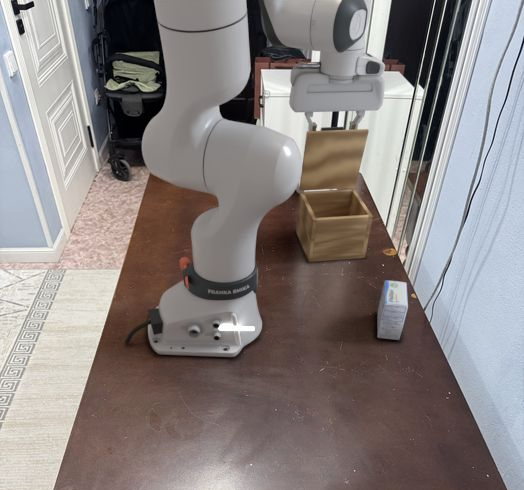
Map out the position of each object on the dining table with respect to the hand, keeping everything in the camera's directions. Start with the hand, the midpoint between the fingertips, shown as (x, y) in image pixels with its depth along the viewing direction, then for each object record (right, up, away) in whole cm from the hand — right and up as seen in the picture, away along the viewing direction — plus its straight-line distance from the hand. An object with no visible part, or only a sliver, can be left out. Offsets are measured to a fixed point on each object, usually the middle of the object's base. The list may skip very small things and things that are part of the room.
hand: (332, 131), depth 111 cm
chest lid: (0, -6, +2) cm, 6 cm away
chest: (+1, -23, +11) cm, 26 cm away
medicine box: (+9, -45, -11) cm, 47 cm away
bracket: (-1, -7, +29) cm, 29 cm away
